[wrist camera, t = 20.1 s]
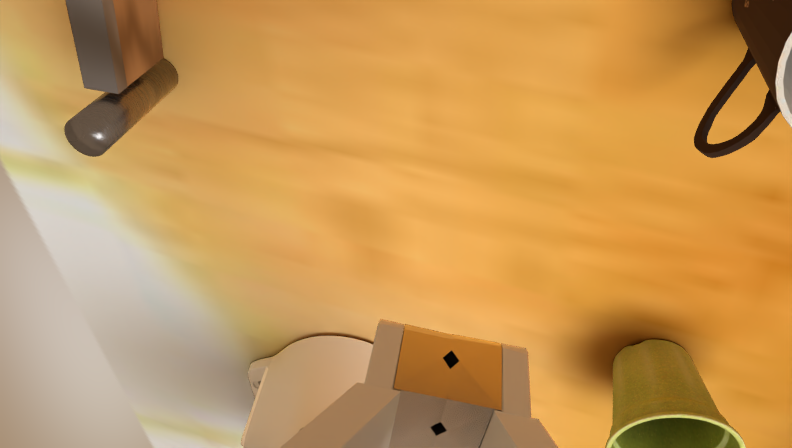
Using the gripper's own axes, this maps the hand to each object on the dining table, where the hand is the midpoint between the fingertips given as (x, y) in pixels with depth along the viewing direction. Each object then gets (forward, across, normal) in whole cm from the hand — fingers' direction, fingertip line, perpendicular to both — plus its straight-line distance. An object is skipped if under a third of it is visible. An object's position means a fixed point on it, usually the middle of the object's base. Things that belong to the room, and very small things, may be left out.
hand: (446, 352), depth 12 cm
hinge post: (+27, +20, +9) cm, 35 cm away
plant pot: (+27, -20, +27) cm, 43 cm away
